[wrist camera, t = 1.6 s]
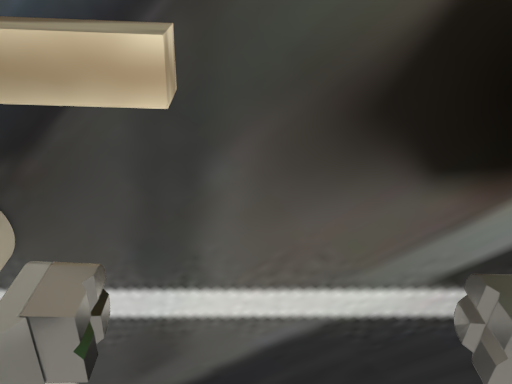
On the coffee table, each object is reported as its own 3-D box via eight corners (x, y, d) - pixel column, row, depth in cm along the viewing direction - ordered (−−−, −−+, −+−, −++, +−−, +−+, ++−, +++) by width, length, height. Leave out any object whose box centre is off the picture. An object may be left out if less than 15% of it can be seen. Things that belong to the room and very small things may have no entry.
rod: (-139, 10, 25) (-200, 21, 22) (173, 22, 26) (162, 35, 22) (-112, 78, 27) (-164, 98, 24) (177, 88, 28) (167, 108, 24)
